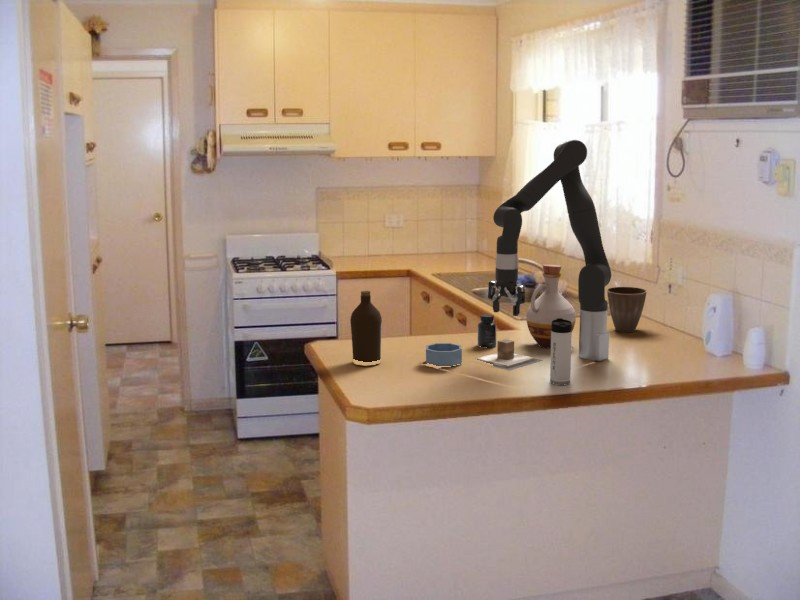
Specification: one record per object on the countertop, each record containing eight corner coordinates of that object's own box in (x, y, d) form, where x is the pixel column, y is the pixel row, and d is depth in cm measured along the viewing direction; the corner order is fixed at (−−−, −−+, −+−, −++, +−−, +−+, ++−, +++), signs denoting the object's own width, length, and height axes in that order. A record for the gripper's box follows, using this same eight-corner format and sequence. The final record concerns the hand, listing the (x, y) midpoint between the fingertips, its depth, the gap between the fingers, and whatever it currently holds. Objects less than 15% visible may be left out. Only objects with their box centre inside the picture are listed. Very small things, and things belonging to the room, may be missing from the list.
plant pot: (646, 335, 345) (648, 294, 341) (606, 334, 347) (608, 293, 344) (643, 326, 359) (645, 287, 356) (604, 325, 362) (606, 286, 358)
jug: (549, 355, 317) (551, 271, 311) (512, 346, 330) (513, 265, 325) (585, 346, 329) (587, 264, 323) (548, 337, 343) (549, 259, 337)
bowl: (468, 364, 306) (468, 347, 305) (444, 371, 298) (444, 353, 297) (443, 358, 315) (443, 341, 314) (418, 364, 307) (418, 347, 305)
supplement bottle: (474, 346, 331) (474, 314, 328) (491, 344, 333) (491, 312, 331) (482, 350, 325) (482, 318, 322) (499, 348, 327) (499, 316, 325)
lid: (534, 360, 308) (535, 340, 307) (508, 368, 299) (508, 348, 297) (503, 353, 318) (503, 334, 317) (476, 360, 309) (476, 341, 307)
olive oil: (360, 368, 302) (358, 295, 297) (346, 361, 311) (344, 290, 306) (387, 364, 307) (386, 292, 302) (373, 357, 316) (372, 287, 311)
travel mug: (567, 379, 287) (569, 317, 283) (572, 385, 281) (573, 322, 277) (548, 379, 287) (549, 318, 283) (552, 385, 281) (553, 322, 277)
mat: (542, 361, 308) (543, 360, 308) (509, 372, 296) (509, 370, 296) (502, 352, 321) (502, 351, 321) (468, 362, 309) (468, 360, 309)
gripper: (530, 267, 300) (529, 315, 303) (497, 263, 310) (497, 309, 313) (516, 270, 295) (515, 318, 298) (483, 265, 305) (482, 312, 308)
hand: (505, 313), depth 306 cm, fingers open, 8 cm apart
